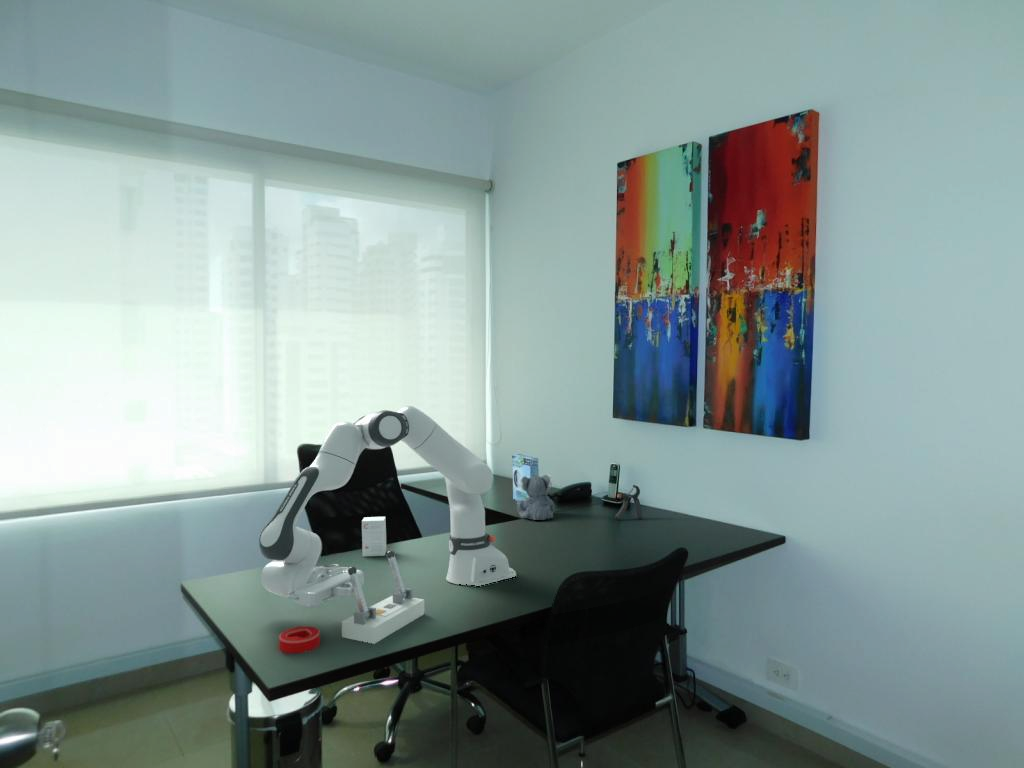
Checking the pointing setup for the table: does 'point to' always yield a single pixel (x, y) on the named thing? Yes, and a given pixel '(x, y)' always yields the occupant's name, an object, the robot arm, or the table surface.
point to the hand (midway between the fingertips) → (354, 591)
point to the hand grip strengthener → (626, 500)
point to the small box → (374, 536)
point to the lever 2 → (396, 574)
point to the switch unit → (383, 618)
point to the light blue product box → (522, 473)
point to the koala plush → (536, 498)
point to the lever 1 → (359, 592)
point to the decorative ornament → (299, 639)
